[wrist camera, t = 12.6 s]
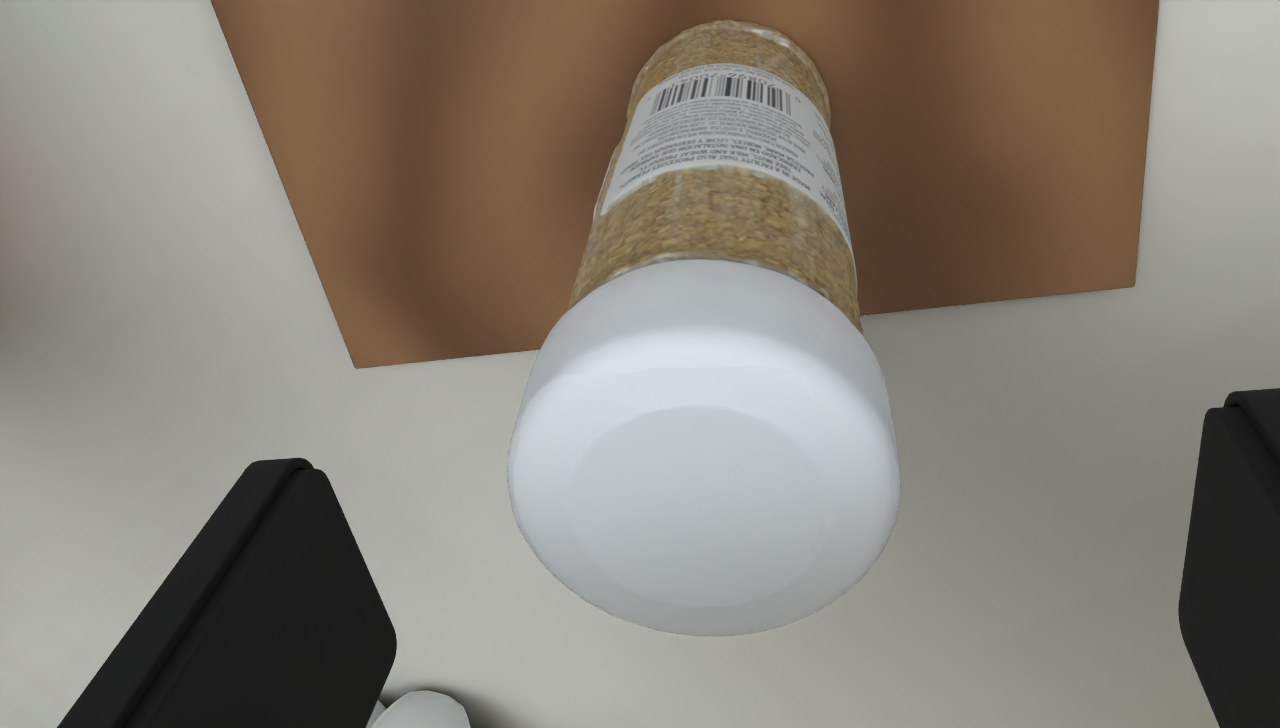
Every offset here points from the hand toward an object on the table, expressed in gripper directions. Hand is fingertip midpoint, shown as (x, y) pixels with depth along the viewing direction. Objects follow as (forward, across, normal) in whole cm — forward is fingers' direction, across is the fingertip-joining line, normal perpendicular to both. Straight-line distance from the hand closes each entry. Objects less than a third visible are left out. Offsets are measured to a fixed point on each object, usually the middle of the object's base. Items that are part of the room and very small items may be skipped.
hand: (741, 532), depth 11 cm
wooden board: (+14, +2, 0) cm, 14 cm away
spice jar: (+14, +1, 0) cm, 14 cm away
